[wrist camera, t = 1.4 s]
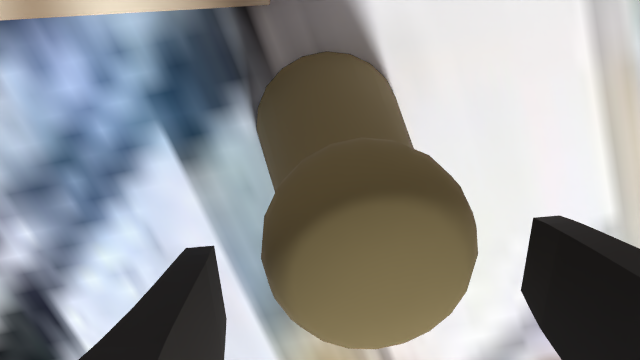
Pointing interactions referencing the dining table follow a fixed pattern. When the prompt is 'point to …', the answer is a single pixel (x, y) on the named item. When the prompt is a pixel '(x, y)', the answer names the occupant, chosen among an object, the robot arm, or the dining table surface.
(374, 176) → the cork
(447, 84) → the dining table surface
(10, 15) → the base board
